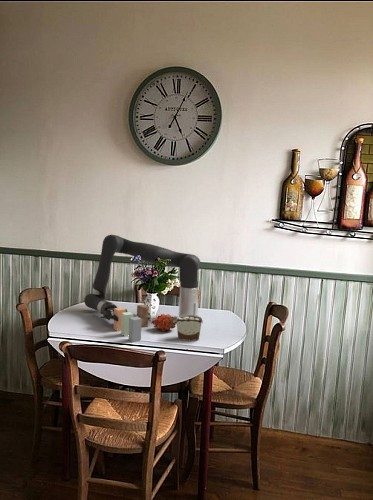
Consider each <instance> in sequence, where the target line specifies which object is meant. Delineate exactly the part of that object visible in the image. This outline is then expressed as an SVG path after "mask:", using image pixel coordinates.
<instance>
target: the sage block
mask: <svg viewBox="0 0 373 500" xmlns="http://www.w3.org/2000/svg"><path fill="white" fill-rule="evenodd" d="M130 317H134V313H132V312H130V311H128V312H124V313H121V331H120V335H121V336H123V335H124V336H126V337H129V336H128V335H129V318H130ZM124 336H123V337H124Z"/></svg>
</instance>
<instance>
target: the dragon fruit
mask: <svg viewBox="0 0 373 500" xmlns="http://www.w3.org/2000/svg"><path fill="white" fill-rule="evenodd" d="M151 324H153V328H155V329H156V330H159V331H162V332H166V331H167V332H169V331H171V329H172V330H173V329H175V328H177V321H176V319H175V317H174V316H171V315H170V314H168V313H165V314H164V313H162V314H161V313H160V315H158V316H157V317H156V318H154V319H153V320H152V321H151Z"/></svg>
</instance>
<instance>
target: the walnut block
mask: <svg viewBox="0 0 373 500" xmlns="http://www.w3.org/2000/svg"><path fill="white" fill-rule="evenodd" d="M136 317H139V318H141V329H142V328H148V327H149V306H148V305H146V304H139V305H138V304H137V306H136Z"/></svg>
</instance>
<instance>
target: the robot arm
mask: <svg viewBox="0 0 373 500" xmlns="http://www.w3.org/2000/svg"><path fill="white" fill-rule="evenodd" d="M116 253H117V254H124V255H128V256H132V257H134V258H136V257H135V256H137V255H140V256H141V261H143V262H147V263H151V264H154V260H155V259H156V258H158V256H159V258H160V259H171V261H169V263H168V264H167V265H166V266H173V267H177V268H179V277H178V278H179V279H178V280H179V299H178V300H179V301H178V316H180V315H195V316H198V315H199V314H198V311H199V299H198V295H199V279H198V277H199V276H198V272H199V269H200V267H201V264H202V263H201V259H200V258H199V257H198V255H195V254H192V253H184V252H180V251H174V250H171V249H169V248H165V247H162V246H159V245H155V244H151V243H146V242H140V241H139V242H137V241H133V240H129V239H127V238H124V237H122V236H119V235H115V234H108V235H106V236H105V237H104V239H103V241H102V247H101V252H100V258H99V263H98V266H97V271H96V273H95V276H94V279H93V282H92V289H93V290H94V291H98V294H95V293H87V294H86V295H85V296H84V300H83V301H84V304H85V306H86V307H88V308H90V309H91V310H92V309H93V310H95V311H96V312H98V313H99V314H100V318H102V319H104V320H107V321H110V320H111V321H114V320H115V321H118V316H116V315H114V308H118V306H117V305H116V304H114V303H113V302H112V301H110V300H108V299H106V290H107V287H108V286H107V285H108V283H109V279H110V276H111V275H110V274H111V266H112V261H113V258H114V256H115V255H116ZM125 309H126V308H125ZM126 312H129V311H128V309H126Z"/></svg>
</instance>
